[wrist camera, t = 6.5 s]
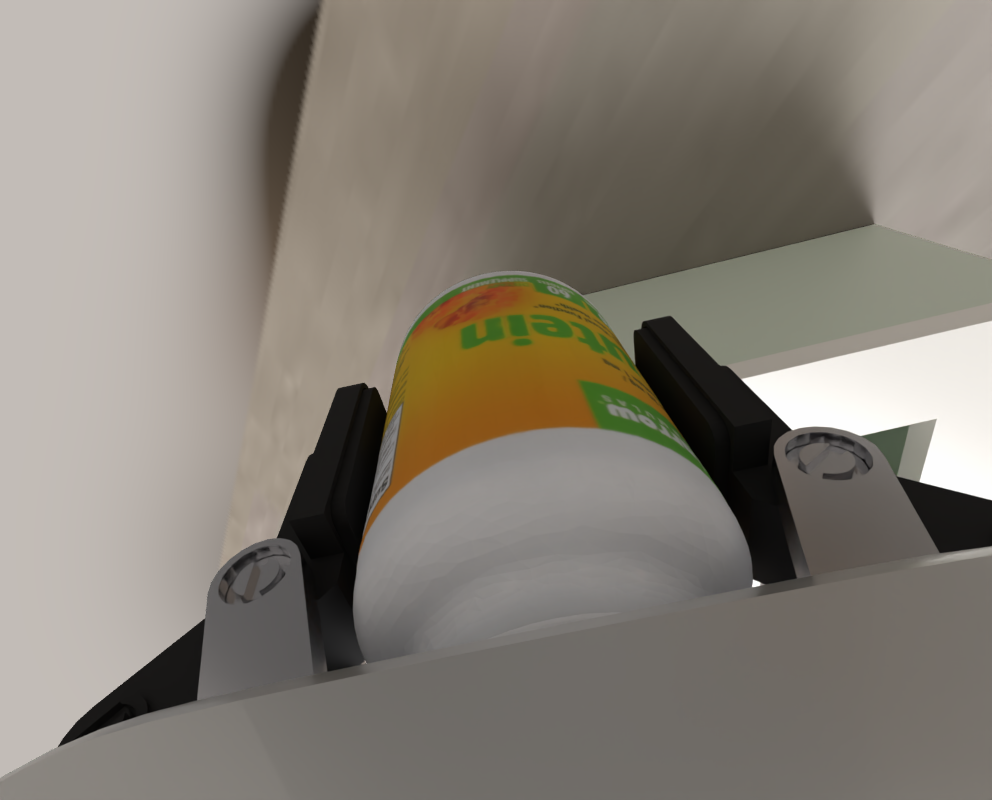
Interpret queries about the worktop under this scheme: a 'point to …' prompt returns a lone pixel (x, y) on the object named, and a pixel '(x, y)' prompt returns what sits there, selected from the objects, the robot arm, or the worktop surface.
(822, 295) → the caddy
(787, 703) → the robot arm
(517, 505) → the supplement bottle
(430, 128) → the worktop surface
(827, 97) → the worktop surface
